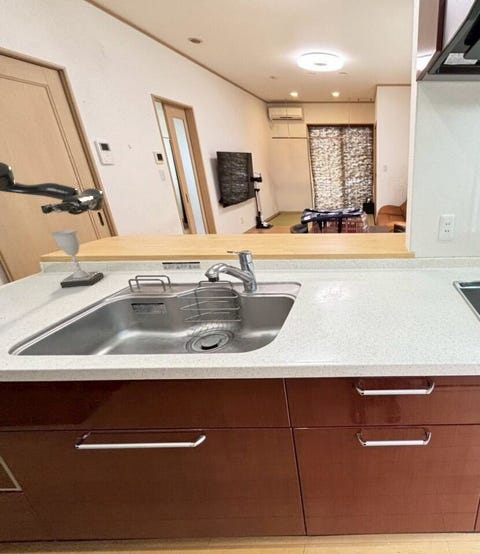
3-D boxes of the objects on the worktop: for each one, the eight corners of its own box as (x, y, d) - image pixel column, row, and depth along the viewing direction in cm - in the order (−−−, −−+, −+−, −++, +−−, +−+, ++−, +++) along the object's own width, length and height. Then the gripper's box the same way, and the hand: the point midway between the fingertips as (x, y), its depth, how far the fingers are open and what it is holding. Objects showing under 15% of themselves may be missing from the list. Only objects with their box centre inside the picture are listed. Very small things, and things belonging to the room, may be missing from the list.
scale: (61, 288, 115) (58, 281, 114) (75, 279, 123) (73, 272, 122) (92, 285, 118) (89, 278, 117) (104, 277, 126) (101, 270, 125)
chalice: (92, 270, 124) (76, 228, 117) (94, 275, 120) (77, 231, 113) (68, 275, 119) (50, 231, 113) (69, 280, 115) (50, 235, 108)
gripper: (53, 196, 126) (30, 201, 112) (95, 195, 131) (77, 199, 117) (60, 214, 129) (38, 221, 115) (100, 212, 134) (84, 218, 120)
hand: (58, 210), depth 116 cm, fingers open, 8 cm apart
